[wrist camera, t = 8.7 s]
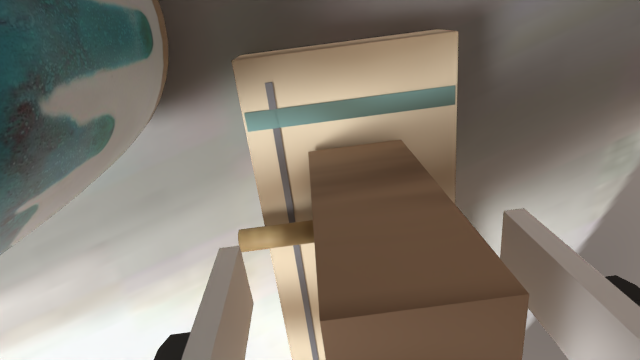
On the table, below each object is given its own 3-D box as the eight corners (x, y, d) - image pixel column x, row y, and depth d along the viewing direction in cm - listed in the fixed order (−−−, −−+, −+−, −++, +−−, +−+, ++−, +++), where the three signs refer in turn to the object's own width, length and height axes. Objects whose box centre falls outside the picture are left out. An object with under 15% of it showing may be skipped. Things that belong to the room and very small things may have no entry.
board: (240, 55, 18) (231, 61, 15) (437, 29, 18) (458, 31, 15) (309, 413, 27) (310, 451, 25) (437, 396, 27) (451, 432, 25)
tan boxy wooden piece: (226, 162, 17) (123, 372, 7) (401, 139, 17) (548, 316, 7) (256, 293, 19) (214, 576, 10) (406, 273, 19) (516, 537, 10)
